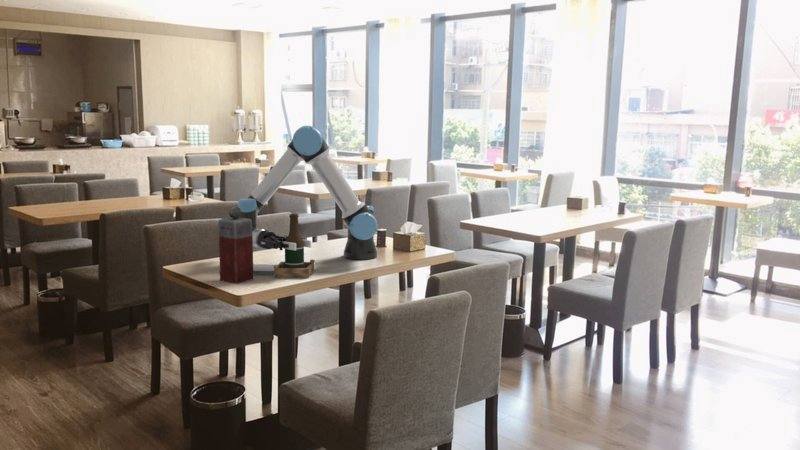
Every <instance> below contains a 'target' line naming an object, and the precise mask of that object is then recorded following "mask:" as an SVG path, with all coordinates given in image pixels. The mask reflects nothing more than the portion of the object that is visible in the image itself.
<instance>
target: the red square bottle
mask: <svg viewBox="0 0 800 450" xmlns="http://www.w3.org/2000/svg"><path fill="white" fill-rule="evenodd" d="M228 215H229V217H228V218H226V217H225V218H221V219H219V220H218V249H219V250H218V253H219V281H221V282H226V283H231V284H235V285H236V284H241V283H245V282H248V281H252V280H254V274H253V264H254V246H253V235H252V220H251V219H247V218H239V217H240V216H241V209H240V208H239V207H238V206H232V207H230V208H229V210H228Z"/></svg>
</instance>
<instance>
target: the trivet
mask: <svg viewBox="0 0 800 450" xmlns="http://www.w3.org/2000/svg"><path fill="white" fill-rule="evenodd" d="M274 265H275V264H263V263H262V264H258V263H253V275H259V276H260V275H267V276H270V275H271V276H273V275H274Z"/></svg>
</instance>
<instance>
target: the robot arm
mask: <svg viewBox="0 0 800 450" xmlns="http://www.w3.org/2000/svg"><path fill="white" fill-rule="evenodd" d="M286 147H287V148H286V149H287V150H286V151H285V152H284V153H283V155H282V156H281V157H280V158H279V159H278V161H277V162H276V163H275V164H274V166H273V167H271V169H270V170H269V171H268V173H267V174H266V175H265V176H264V178H263V179H262V180H261V181H260V182H259V183H258V185H257V186H256V188H255V189H253V191H252V192H251V193H250V195H249V196H248V197H246V198H240V199H239V200H238V201H237V203H238V204H237V207H239V208H240V209H241V216H240V217H239V218H247V219H251V220H252V235H253V248H255V247H256V248H257V249H258V250H259V249H260V250H261V248H262V249H265V250H271V249H276V250H277V249H278V250H279V251H284V250H285V249H289V250H294V251H295V250H296V243H291V242H285V241H286V239H287V237H288V235H283V236H282V235H278V234H276V233H275V232H274V231H272V230H268V229H263V228H261V229H260V228H258V221H257V220H258V214H259V212H260V211H261V210H262V209H263V208H264V206H266V204H267V203H268V201H269V200H270V199H272V197H273V196H274V194H275V193H276V192H277V191H278V189H279V188H280V187H281V186H282V185H283V183H284V182H285V181H286V180H287V179H288V178H289V176H290V175H291V174H292V173H293V171H294V170H295V169H296V168H297V167H298V165H299V164H300V163H301V162H305V164H307V165H311V167H312V168H313V170H314V172H315V173H316V174H317V176H318V177H319V179H320V180H321V182H322V183H323V185H324V186H325V188H326V190H327V191H328V192H329V194H330V196H331V197H332V198H333V200H334V201H335V203H336V205H337V206H338V207H339V210H341V212H342V214H341V219H342V220H343V222H344V223H345V224H346V226H347V240H346V244H345V246H344V249H343V258H346V259H350V260H371V259H375V258H377V257H378V250H377V246H376V243H375V241H374V240H375V239H374V236H375V234H376V233H377V231H378V226H379V225H378V224H379V223H378V221H377V218H376V217H375V215H374V213H375V210H374V207H373V205H367V204H366V202H363V201H360V200H359V198H358V197H357V195H356V194H355V192H354V191H353V189H352V187H351V185H349V183H348V181H347V180H346V178H345V177H344V175H343V173H342V172H341V171H340V169H339V167H338V166H337V165H336V163H335V160H333V158H332V157H331V155H330V153H329V152H330V147H329V145H328V144H327V142H326V140H325V139H324V138H323V136H322V134H321V132H320V131H319V129H317V128H316V127H314V126H311V125H304V126H300V127H299V128H298V129H296V130H295V132H294V134H293V135H292V139H291V141H290V142H289V144H287V146H286ZM302 239H303V242H304V248H312V240H308V239H304V238H303V237H302Z"/></svg>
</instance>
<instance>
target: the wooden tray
mask: <svg viewBox="0 0 800 450" xmlns="http://www.w3.org/2000/svg"><path fill="white" fill-rule="evenodd" d="M273 265H274V278H282V279H283V278H288V279H289V278H290V279H291V278H293V279H296V278H297V279H304V278H305V279H309V278H311V276H312V275H313V273H314V272H315V259H310V260H309V261H304V268H285V261H280V262H279V263H278V264H273Z"/></svg>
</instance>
